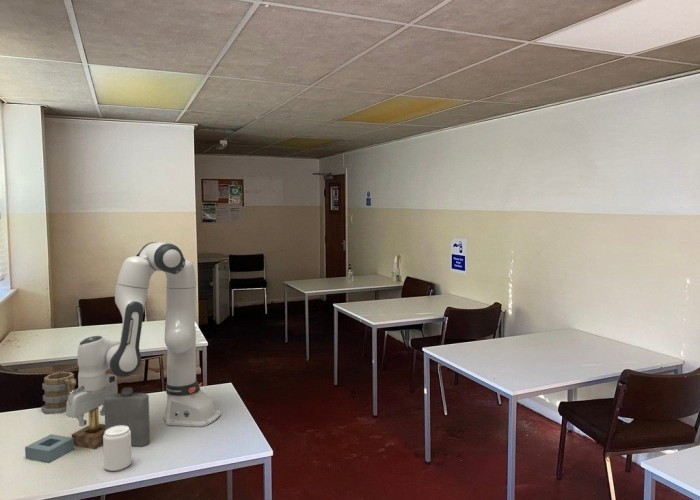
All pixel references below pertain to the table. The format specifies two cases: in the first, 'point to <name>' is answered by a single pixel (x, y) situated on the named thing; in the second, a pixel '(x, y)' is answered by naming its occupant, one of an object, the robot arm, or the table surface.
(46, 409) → the tankard
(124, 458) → the beverage can
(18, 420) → the table surface
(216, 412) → the robot arm
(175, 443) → the table surface
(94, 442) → the walnut mount
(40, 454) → the slate socket block
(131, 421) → the flask
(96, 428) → the brass peg
